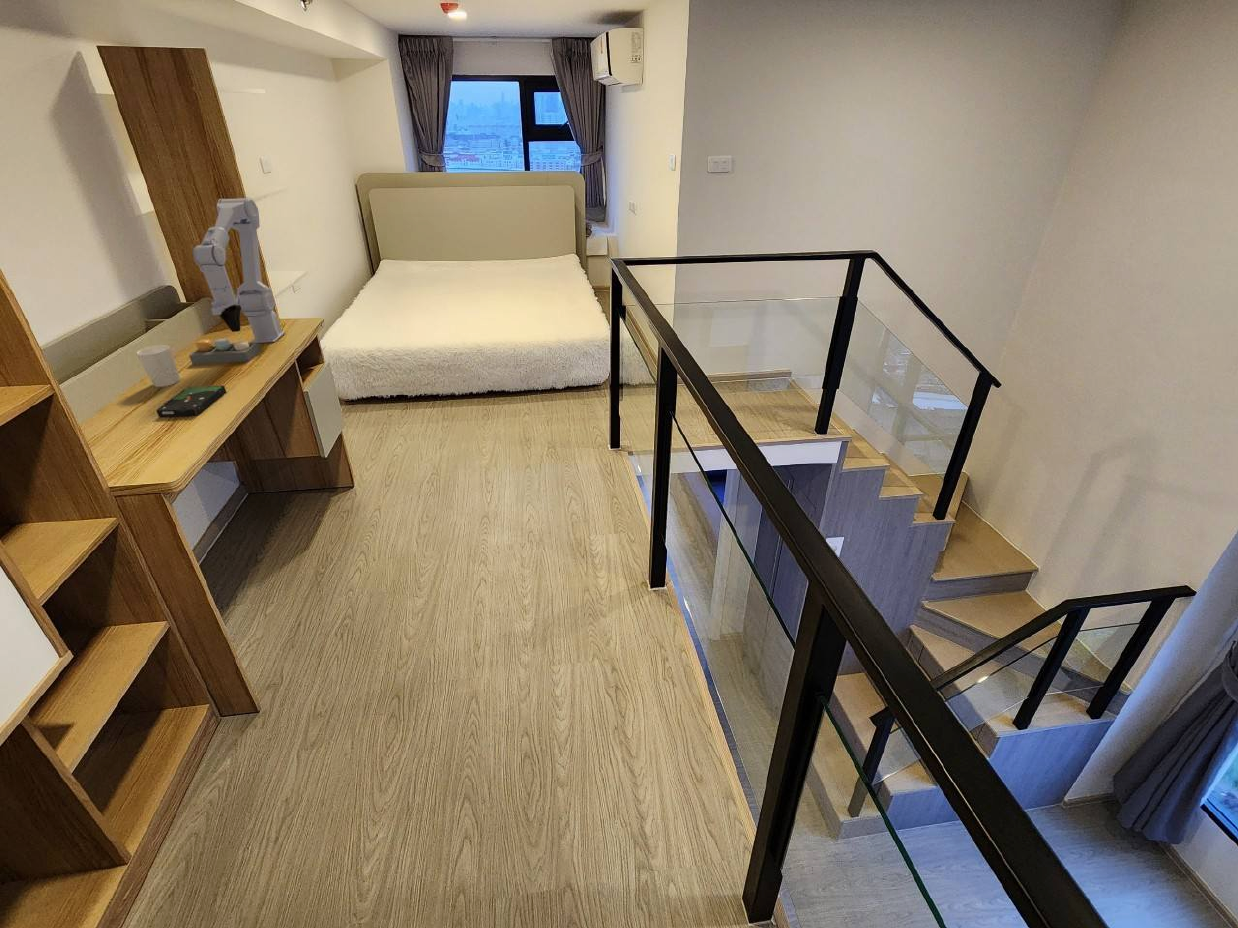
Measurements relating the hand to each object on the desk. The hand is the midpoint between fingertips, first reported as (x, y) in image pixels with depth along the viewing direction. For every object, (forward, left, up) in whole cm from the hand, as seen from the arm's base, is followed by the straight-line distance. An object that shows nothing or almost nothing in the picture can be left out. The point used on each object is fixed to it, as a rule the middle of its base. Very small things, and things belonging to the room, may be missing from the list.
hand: (236, 331), depth 195 cm
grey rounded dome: (0, -5, -5) cm, 8 cm away
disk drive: (+35, +2, -9) cm, 36 cm away
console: (0, -6, -8) cm, 10 cm away
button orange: (0, -11, -5) cm, 12 cm away
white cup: (+18, -14, -9) cm, 25 cm away
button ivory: (0, 0, -7) cm, 7 cm away
